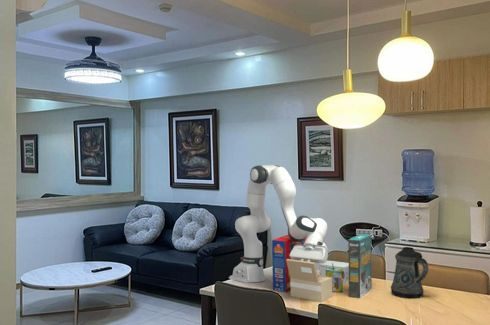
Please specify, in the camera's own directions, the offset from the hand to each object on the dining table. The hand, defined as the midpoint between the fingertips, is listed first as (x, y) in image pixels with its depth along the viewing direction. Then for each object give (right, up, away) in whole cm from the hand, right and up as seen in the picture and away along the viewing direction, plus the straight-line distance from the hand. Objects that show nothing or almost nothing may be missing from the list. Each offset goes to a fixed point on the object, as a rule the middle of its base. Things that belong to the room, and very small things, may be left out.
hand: (303, 267), depth 245 cm
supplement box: (+26, -17, +47) cm, 56 cm away
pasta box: (-3, -17, +30) cm, 34 cm away
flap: (+1, -7, +2) cm, 7 cm away
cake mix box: (+33, -17, +14) cm, 39 cm away
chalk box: (+20, -17, +20) cm, 33 cm away
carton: (+5, -17, +7) cm, 19 cm away
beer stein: (+58, -17, +9) cm, 61 cm away
